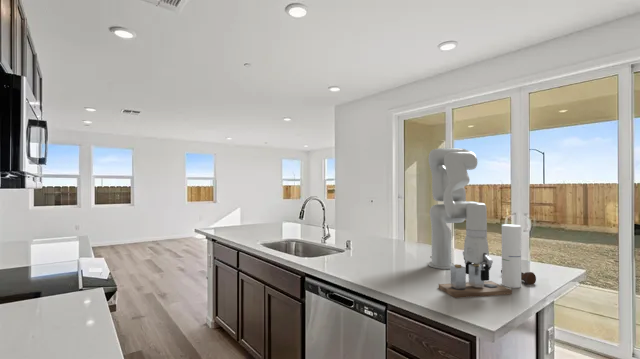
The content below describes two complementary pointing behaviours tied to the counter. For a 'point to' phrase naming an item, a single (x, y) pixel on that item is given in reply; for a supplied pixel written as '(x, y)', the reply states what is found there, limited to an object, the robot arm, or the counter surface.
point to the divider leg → (475, 276)
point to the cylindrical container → (511, 255)
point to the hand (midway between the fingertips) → (476, 277)
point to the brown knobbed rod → (528, 278)
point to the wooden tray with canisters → (463, 289)
